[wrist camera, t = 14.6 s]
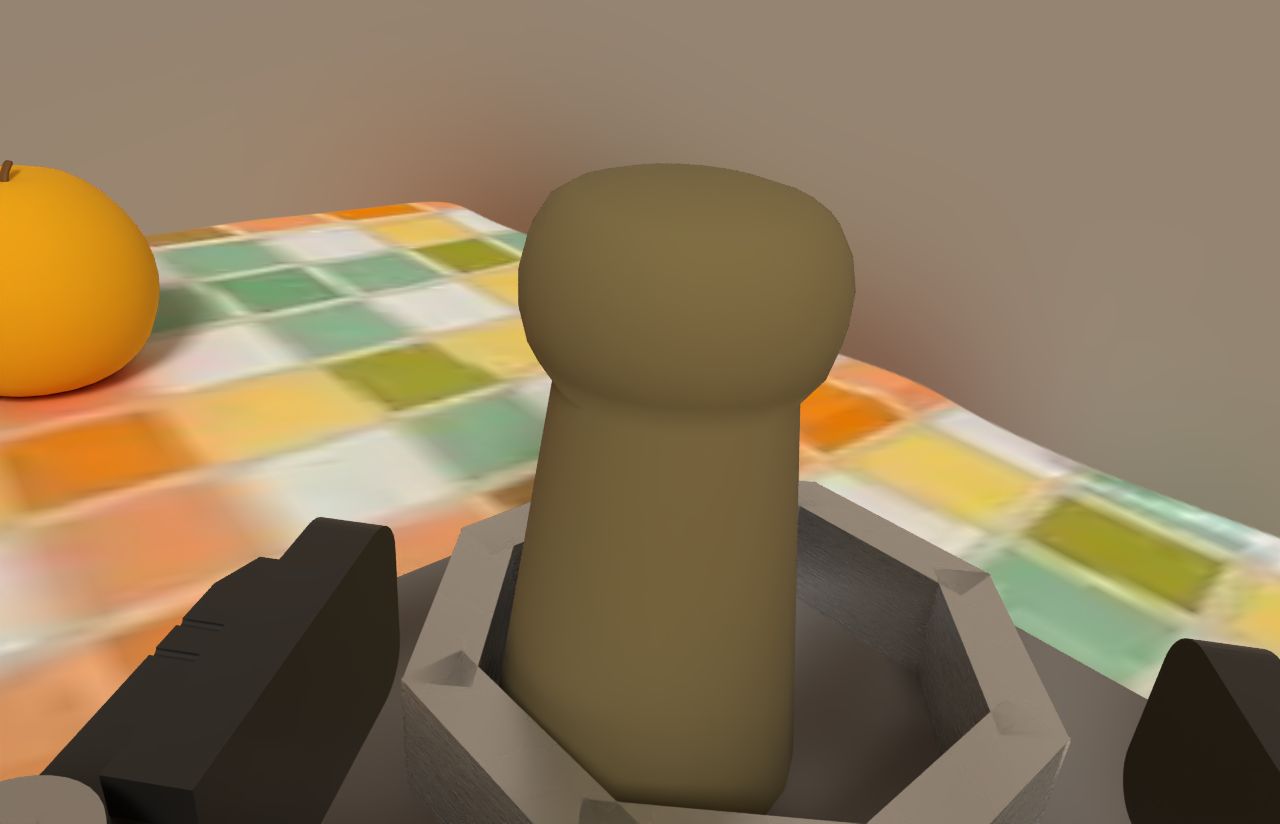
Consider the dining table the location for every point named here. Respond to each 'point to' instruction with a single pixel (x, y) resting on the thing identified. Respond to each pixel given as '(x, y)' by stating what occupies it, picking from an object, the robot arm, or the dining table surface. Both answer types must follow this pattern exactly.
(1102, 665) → the dining table surface
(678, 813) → the steel ring
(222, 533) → the dining table surface
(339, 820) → the holder plate
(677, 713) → the cork
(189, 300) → the dining table surface
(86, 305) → the orange
